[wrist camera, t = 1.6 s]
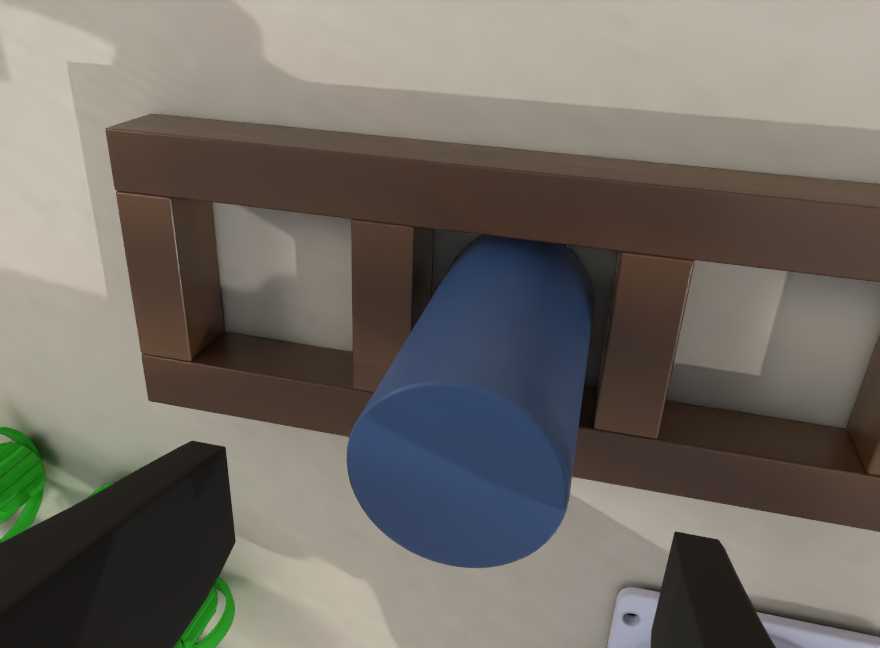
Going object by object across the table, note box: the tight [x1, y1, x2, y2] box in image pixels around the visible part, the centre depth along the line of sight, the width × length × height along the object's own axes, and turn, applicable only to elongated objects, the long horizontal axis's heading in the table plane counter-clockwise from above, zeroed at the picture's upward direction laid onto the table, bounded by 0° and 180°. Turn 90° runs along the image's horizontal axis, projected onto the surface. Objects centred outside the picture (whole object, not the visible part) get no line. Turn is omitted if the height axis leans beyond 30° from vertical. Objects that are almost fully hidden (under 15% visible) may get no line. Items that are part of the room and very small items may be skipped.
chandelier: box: [0, 427, 235, 648], centre depth 26 cm, size 15×15×7 cm
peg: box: [347, 235, 594, 568], centre depth 17 cm, size 4×4×8 cm
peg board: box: [106, 114, 880, 532], centre depth 19 cm, size 8×21×2 cm, turn 88°
